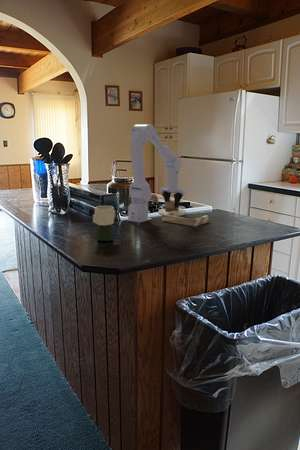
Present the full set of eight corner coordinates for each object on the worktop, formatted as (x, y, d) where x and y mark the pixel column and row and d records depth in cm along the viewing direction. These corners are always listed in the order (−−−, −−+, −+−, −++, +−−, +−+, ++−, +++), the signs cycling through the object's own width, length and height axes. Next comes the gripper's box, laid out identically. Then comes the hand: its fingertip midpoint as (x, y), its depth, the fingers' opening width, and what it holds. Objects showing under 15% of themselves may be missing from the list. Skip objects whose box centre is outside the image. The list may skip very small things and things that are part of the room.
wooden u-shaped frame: (194, 226, 167) (194, 219, 166) (161, 220, 178) (161, 214, 177) (208, 221, 176) (208, 215, 175) (175, 216, 187) (175, 210, 186)
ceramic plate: (175, 217, 185) (175, 215, 184) (153, 213, 193) (153, 211, 193) (190, 212, 195) (190, 210, 195) (168, 209, 204) (168, 207, 203)
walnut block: (173, 212, 190) (173, 202, 189) (165, 211, 193) (165, 201, 192) (178, 210, 194) (178, 201, 193) (170, 209, 197) (170, 200, 196)
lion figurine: (139, 208, 208) (139, 192, 206) (134, 206, 212) (134, 190, 210) (161, 205, 215) (161, 190, 213) (156, 204, 220) (156, 188, 217)
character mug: (108, 236, 151) (108, 204, 148) (121, 239, 146) (121, 206, 143) (87, 241, 143) (86, 208, 140) (100, 245, 138) (99, 210, 135)
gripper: (189, 180, 189) (188, 207, 192) (165, 178, 198) (165, 204, 201) (181, 182, 184) (180, 209, 187) (157, 179, 192) (157, 206, 195)
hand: (172, 206), depth 193 cm, fingers closed on walnut block, 5 cm apart
